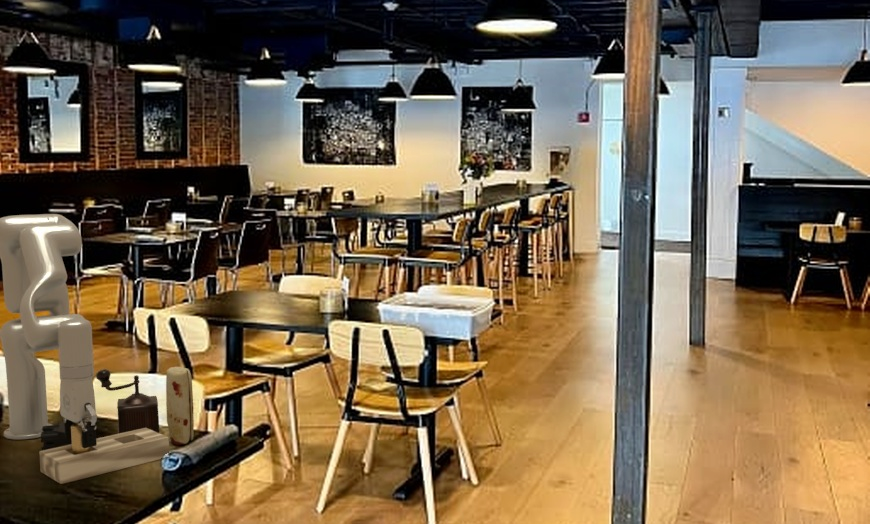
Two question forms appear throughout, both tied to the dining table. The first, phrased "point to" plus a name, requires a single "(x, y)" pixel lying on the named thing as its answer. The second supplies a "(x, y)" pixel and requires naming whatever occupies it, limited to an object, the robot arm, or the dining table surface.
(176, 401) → the food model
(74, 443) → the pin
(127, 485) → the dining table surface
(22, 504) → the dining table surface
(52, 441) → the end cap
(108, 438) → the board
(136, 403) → the manual coffee grinder
